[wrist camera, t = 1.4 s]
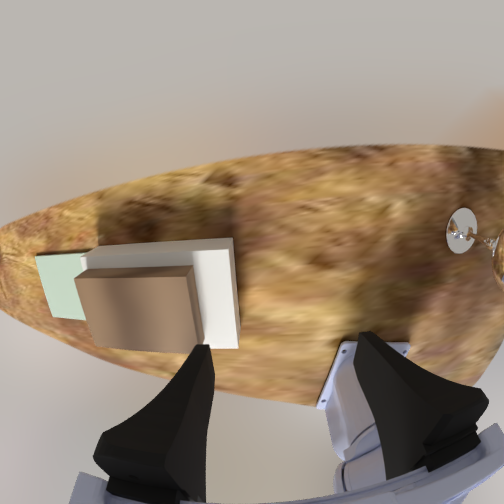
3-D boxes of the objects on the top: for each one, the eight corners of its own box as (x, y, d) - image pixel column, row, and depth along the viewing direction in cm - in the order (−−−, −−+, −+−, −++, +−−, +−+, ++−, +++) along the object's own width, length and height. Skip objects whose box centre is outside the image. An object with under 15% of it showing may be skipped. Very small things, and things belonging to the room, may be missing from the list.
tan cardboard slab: (193, 265, 19) (186, 276, 17) (204, 338, 20) (199, 354, 18) (87, 268, 19) (73, 278, 17) (106, 333, 21) (95, 346, 19)
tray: (232, 237, 21) (228, 249, 18) (240, 327, 23) (238, 348, 21) (98, 246, 21) (79, 257, 19) (118, 325, 24) (105, 342, 21)
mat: (99, 251, 22) (97, 252, 21) (116, 320, 24) (115, 322, 23) (36, 255, 22) (34, 256, 22) (54, 315, 24) (52, 316, 24)
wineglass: (444, 269, 21) (527, 333, 10) (436, 211, 20) (538, 255, 8) (482, 247, 20) (564, 294, 9) (476, 193, 19) (571, 222, 7)
